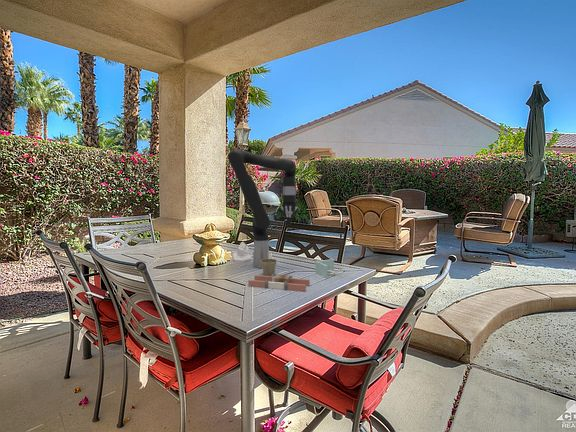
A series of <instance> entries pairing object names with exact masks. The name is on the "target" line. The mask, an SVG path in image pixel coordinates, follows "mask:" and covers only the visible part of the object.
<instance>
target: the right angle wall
mask: <svg viewBox="0 0 576 432" xmlns="http://www.w3.org/2000/svg"><path fill="white" fill-rule="evenodd" d="M315 274H317V275H319V276H321V277H322V278H325V279H328V277H334V276H335V275H336V271H335V259H333V258H331V259H325V260H315Z"/></svg>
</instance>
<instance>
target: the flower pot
mask: <svg viewBox="0 0 576 432" xmlns="http://www.w3.org/2000/svg"><path fill="white" fill-rule="evenodd" d="M277 262H278V260H277V259H275V258H269V259H263V260H261V263H262V267H263V268H262V276H271V275H272V274H274V275H275V272H276V265H277Z"/></svg>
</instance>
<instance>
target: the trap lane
mask: <svg viewBox="0 0 576 432" xmlns="http://www.w3.org/2000/svg"><path fill="white" fill-rule="evenodd" d="M275 277H276V276H275V273H274V274H272V275H271V276H264V275H258V274H254V279H248V280H247V283H248V285H247V286H248V287H252V286H253V287H254V288H264V289H276V290H284V291H294V292H295V291H296V292H306V291H307V286H308V287H310V286H311V285H310V279H309V278H308V279H306V278H293V275H290V283H287V281H284V283H281V282H274V278H275Z"/></svg>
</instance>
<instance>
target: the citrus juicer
mask: <svg viewBox="0 0 576 432" xmlns="http://www.w3.org/2000/svg"><path fill="white" fill-rule="evenodd" d="M232 260H233V263H242V264H243V263H244V264H245V263H248V262H251V261H252V257H251V255H250V253H249V246H248V245H247V244H246V243H245V242H244V241H242V242H240V244H239V246H238V248H237V249H236V252H233V253H232Z"/></svg>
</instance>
